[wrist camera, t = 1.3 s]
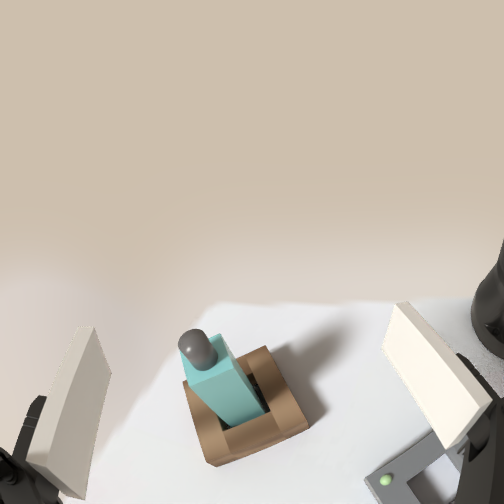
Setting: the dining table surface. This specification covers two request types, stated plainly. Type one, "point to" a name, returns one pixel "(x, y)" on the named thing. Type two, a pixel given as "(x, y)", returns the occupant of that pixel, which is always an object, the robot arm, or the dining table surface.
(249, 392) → the plug
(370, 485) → the port
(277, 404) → the holster
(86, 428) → the robot arm
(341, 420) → the dining table surface
